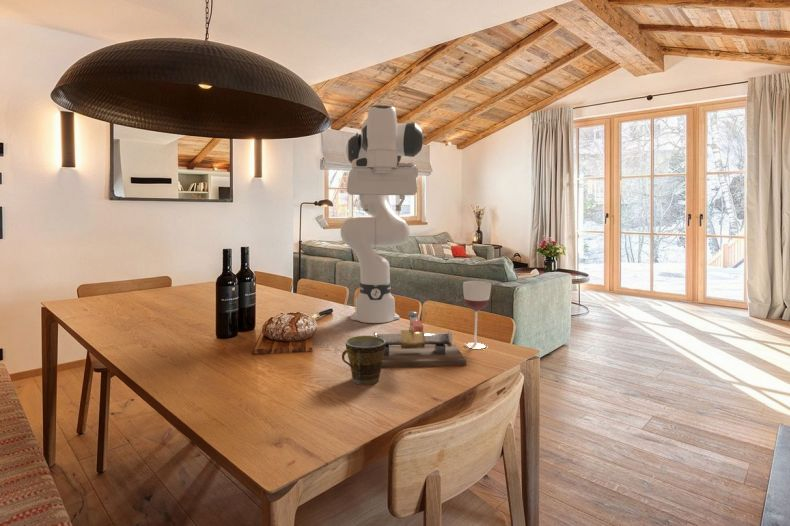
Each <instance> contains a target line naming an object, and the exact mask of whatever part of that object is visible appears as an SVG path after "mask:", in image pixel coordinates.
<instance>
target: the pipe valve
mask: <svg viewBox="0 0 790 526" xmlns="http://www.w3.org/2000/svg"><path fill="white" fill-rule="evenodd" d="M452 334H453V333H452V331H451V330H447V331H446V332H440V333H439V332H438V333H435V332H433V333H432V332H431V333H425V330H424V329H423V332H414V331H413V329H412V327H411V326H409V327H408V329H405V330H404V329H403V330H400V333H381V334H380V333H377V331H376V332H375V331H373V336H376V337H380V338H383V339H384V340H385V341H386V345H385V351H384V356H389V346H401V349H419V348H424V347H425V345H435V352H436V354H437V355H445V345H447V346H448V347H450V346H451V345H453V337H452Z"/></svg>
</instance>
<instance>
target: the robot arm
mask: <svg viewBox="0 0 790 526" xmlns="http://www.w3.org/2000/svg"><path fill="white" fill-rule="evenodd" d="M396 111H397V110H396V108H395V107H394V106H393V105H380V104H379V105H378V104H377V105H375V104H374V105H371V106H369V108H368V113H367V118H365V120H364V121H363V123H362V124H361V128H360V133H359V132H356V133H355V135H353V136H351V137H350V138H349V139H348V141H347V143H346V147H345V154H346V157H347V160H348V162H350V163H351V165H350V166H351V168H352V169H350V171H349V173H348V177H347V182H346V183H347V184H346V193H347V194H348V195H351V196H358V197H359V198H358V199H359V202H360V208H361V209H362V211H363V212H365V213H366V214H368V215H370V216H372V217H365V216H363V217H352V218H348V219H345V220H344V221H343V222H342V224H341V228H340V237H341V240H342V242H344V244H346V246H348V247H349V248H351V250H352V251H353V252H354V254H355V255H356V257H357V259H358V264H359V270H360V271H359V272H360V282H359V285H358V287H359V294H358V296H356V297H355V300H354V306H355V308H354V310H355V311H354V313H352V315H351V316H350V320H351V321H358V322H361V323H367V324H383V323H388V322H389V323H390V322H392V321H395V320H399V319H400V315H399V314H397V312H396V306H395V305H396V303H395V302H396V300H395V297H394V296H393V295H392V293H391V292H392V286H391V285H392V283H391V281H390V280H391V279H390V277H391V276H390V275H391V274H390V273H391V272H390V271H391V269H390V268H391V267H390V263H389V261H388V260H387V259H386V258H385V257H383V256H381V255H380V254H377V252H375V251H374V248H375V247H381V248H383V247H397V246H402V245H404V244H406V243H407V241H408V240H409V237H410V227H409V225H408V222H407V221H406V220H405V219H403V218H402V217H400V216H398V215H397V213H396V212H401V211H402V205H403V203H404V201H406V200H405V199H406V196H415V195H416V194H417V192H418V182H417V178H418V176H419V169H418V167H417V165H416V164H414V163H412V162H401V160H402V157H410V158H414V157H416V156H417V155H418V154H419V153H420V152H422V148H423V145H424V134H423V130H422V128H421V127H420V126H419V125H418V124H417V123H416V122H411V123H410V122H409V123H408V122H407V123H404V122H403V123H402V122H401V123H400V122H398V117H397V112H396ZM350 163H349V164H350ZM389 196H399V200H400V202H399V203H398V204H395V211H394V210H393V208H392V206H391V203H390V197H389Z"/></svg>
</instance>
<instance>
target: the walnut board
mask: <svg viewBox="0 0 790 526" xmlns="http://www.w3.org/2000/svg"><path fill="white" fill-rule="evenodd" d="M444 345H445V355H437V354H436V352H435V345H425V347H424V348H419V349H401V345H389V356H383V359H382V365H381V368H398V367H399V368H404V367H405V368H406V367H407V368H408V367H409V368H410V367H411V368H412V367H445V366H446V367H447V366H448V367H451V366H452V367H453V366H454V367H455V366H458V367H459V366H466V365H467V359H466V357H464V355H463V354H462V353H461V351H460V349H459V348H458V346H457V345H456V344H452V345H451V346H450V347H448V346H447V344H444Z"/></svg>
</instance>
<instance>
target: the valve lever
mask: <svg viewBox="0 0 790 526" xmlns="http://www.w3.org/2000/svg"><path fill="white" fill-rule="evenodd" d="M407 316H408V317H409V327H412V329H413V331H414V332H423V330H424V325H423V323H422V321H421V320H419V319H418V312H417V311H415V310H411V311H407Z"/></svg>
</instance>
